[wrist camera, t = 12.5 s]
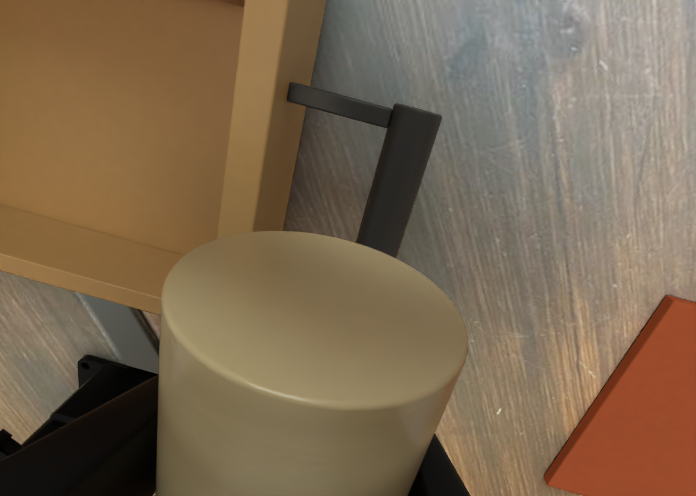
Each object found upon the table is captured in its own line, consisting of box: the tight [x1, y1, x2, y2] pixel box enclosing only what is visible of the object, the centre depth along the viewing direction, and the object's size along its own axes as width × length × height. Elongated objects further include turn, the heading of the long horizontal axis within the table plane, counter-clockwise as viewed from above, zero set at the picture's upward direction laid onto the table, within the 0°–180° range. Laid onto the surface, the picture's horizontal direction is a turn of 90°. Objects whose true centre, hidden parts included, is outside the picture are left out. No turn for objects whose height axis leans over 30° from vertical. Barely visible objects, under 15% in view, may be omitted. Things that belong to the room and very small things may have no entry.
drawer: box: [0, 0, 442, 315], centre depth 14 cm, size 22×13×5 cm, turn 76°
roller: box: [156, 231, 468, 496], centre depth 7 cm, size 7×4×4 cm, turn 168°
